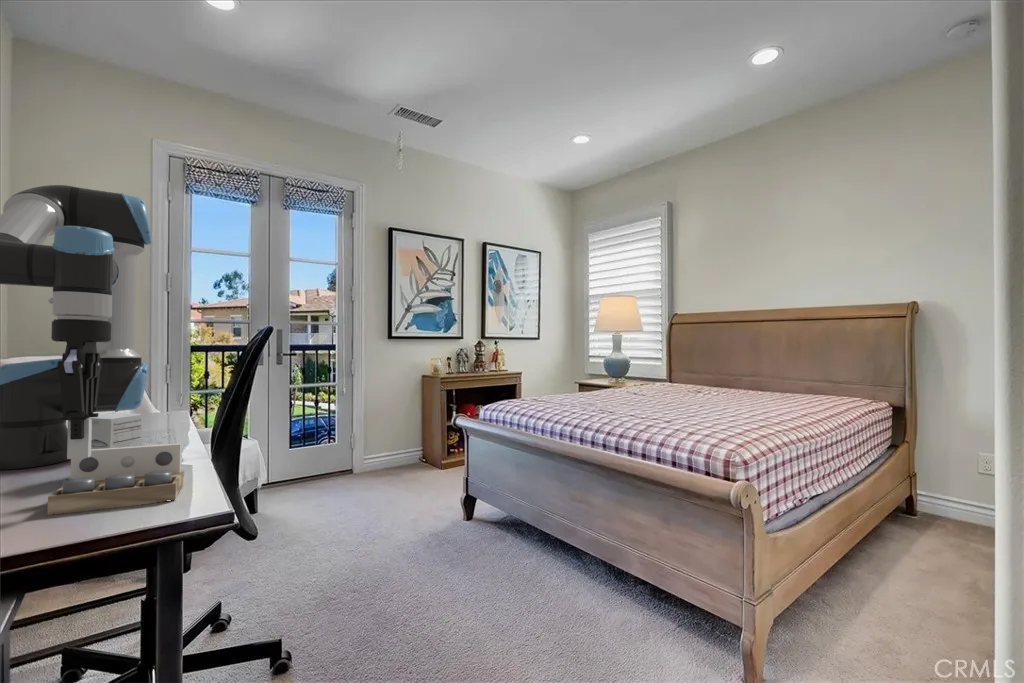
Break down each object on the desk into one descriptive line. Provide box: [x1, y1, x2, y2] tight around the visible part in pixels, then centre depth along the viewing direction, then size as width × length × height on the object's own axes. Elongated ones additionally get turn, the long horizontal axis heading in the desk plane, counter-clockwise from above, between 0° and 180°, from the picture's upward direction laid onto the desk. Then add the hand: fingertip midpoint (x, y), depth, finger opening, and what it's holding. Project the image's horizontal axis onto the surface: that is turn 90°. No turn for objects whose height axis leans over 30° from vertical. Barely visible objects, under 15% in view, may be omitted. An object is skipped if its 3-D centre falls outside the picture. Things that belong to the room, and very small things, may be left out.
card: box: [69, 443, 182, 481], centre depth 87 cm, size 1×16×6 cm, turn 118°
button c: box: [144, 470, 172, 486], centre depth 85 cm, size 4×4×2 cm
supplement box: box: [89, 412, 144, 449], centre depth 98 cm, size 7×7×13 cm
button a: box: [62, 477, 95, 494], centre depth 80 cm, size 4×4×2 cm
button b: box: [105, 473, 135, 490], centre depth 82 cm, size 4×4×2 cm
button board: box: [47, 469, 185, 516], centre depth 84 cm, size 10×17×3 cm, turn 118°
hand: (79, 457), depth 80 cm, fingers closed
